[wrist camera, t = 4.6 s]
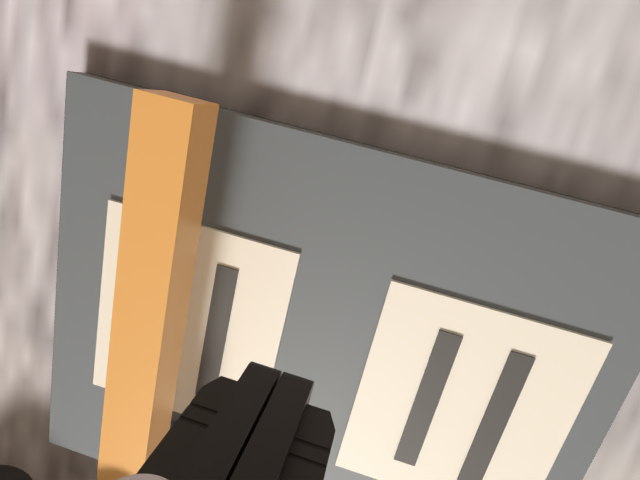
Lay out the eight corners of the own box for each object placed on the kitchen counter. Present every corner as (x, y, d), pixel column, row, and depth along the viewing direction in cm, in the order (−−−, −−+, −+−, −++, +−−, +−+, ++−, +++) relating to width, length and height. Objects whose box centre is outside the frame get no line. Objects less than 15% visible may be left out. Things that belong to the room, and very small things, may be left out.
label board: (85, 73, 21) (22, 66, 17) (692, 227, 18) (759, 256, 14) (63, 427, 27) (13, 474, 24) (509, 583, 24) (525, 661, 21)
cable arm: (150, 86, 16) (94, 82, 13) (235, 108, 16) (197, 108, 13) (106, 495, 22) (62, 552, 19) (168, 517, 22) (132, 579, 19)
